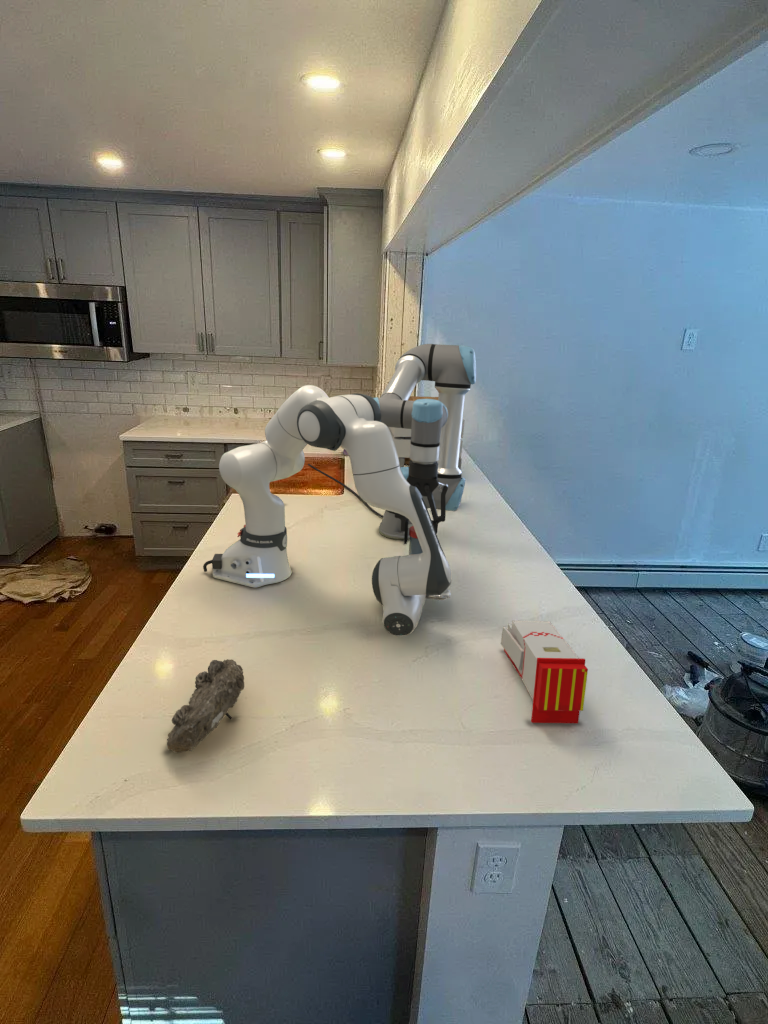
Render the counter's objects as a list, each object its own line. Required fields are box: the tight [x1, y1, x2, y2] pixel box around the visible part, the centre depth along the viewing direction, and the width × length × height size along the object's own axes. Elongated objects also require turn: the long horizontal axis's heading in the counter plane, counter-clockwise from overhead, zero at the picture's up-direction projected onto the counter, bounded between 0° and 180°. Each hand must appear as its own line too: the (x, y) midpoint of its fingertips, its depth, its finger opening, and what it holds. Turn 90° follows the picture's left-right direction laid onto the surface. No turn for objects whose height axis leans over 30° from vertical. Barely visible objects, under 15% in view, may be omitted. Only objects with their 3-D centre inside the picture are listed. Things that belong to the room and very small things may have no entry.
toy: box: [500, 620, 589, 724], centre depth 121 cm, size 12×13×30 cm
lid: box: [409, 526, 418, 539], centre depth 153 cm, size 5×5×2 cm
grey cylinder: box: [408, 536, 423, 555], centre depth 156 cm, size 5×5×19 cm
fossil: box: [166, 658, 245, 754], centre depth 106 cm, size 22×10×15 cm
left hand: (416, 571), depth 157 cm, fingers closed on grey cylinder, 5 cm apart
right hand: (418, 543), depth 154 cm, fingers open, 6 cm apart
